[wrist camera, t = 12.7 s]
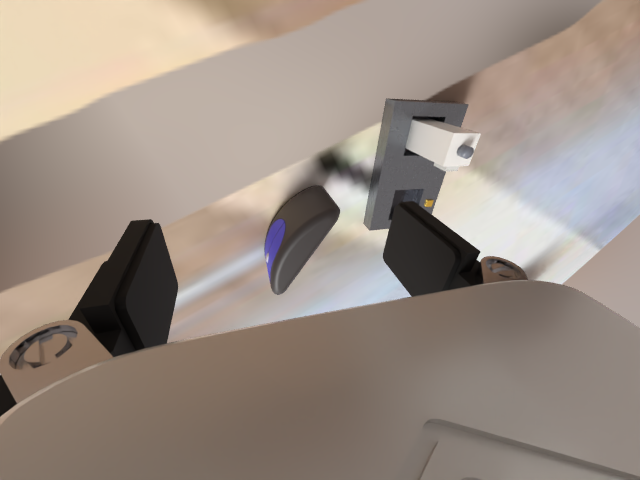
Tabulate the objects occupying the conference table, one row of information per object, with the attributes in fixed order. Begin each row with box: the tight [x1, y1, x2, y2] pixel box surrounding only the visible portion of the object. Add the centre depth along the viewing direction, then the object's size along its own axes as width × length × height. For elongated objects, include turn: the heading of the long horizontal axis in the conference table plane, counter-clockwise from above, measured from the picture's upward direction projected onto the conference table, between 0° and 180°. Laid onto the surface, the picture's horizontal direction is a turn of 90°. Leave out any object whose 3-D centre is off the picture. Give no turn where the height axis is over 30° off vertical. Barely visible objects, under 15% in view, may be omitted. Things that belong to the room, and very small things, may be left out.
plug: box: [406, 118, 481, 171], centre depth 36 cm, size 5×4×11 cm
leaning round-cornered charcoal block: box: [264, 186, 340, 295], centre depth 39 cm, size 16×5×9 cm, turn 144°
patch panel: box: [364, 99, 468, 230], centre depth 43 cm, size 20×12×3 cm, turn 176°
